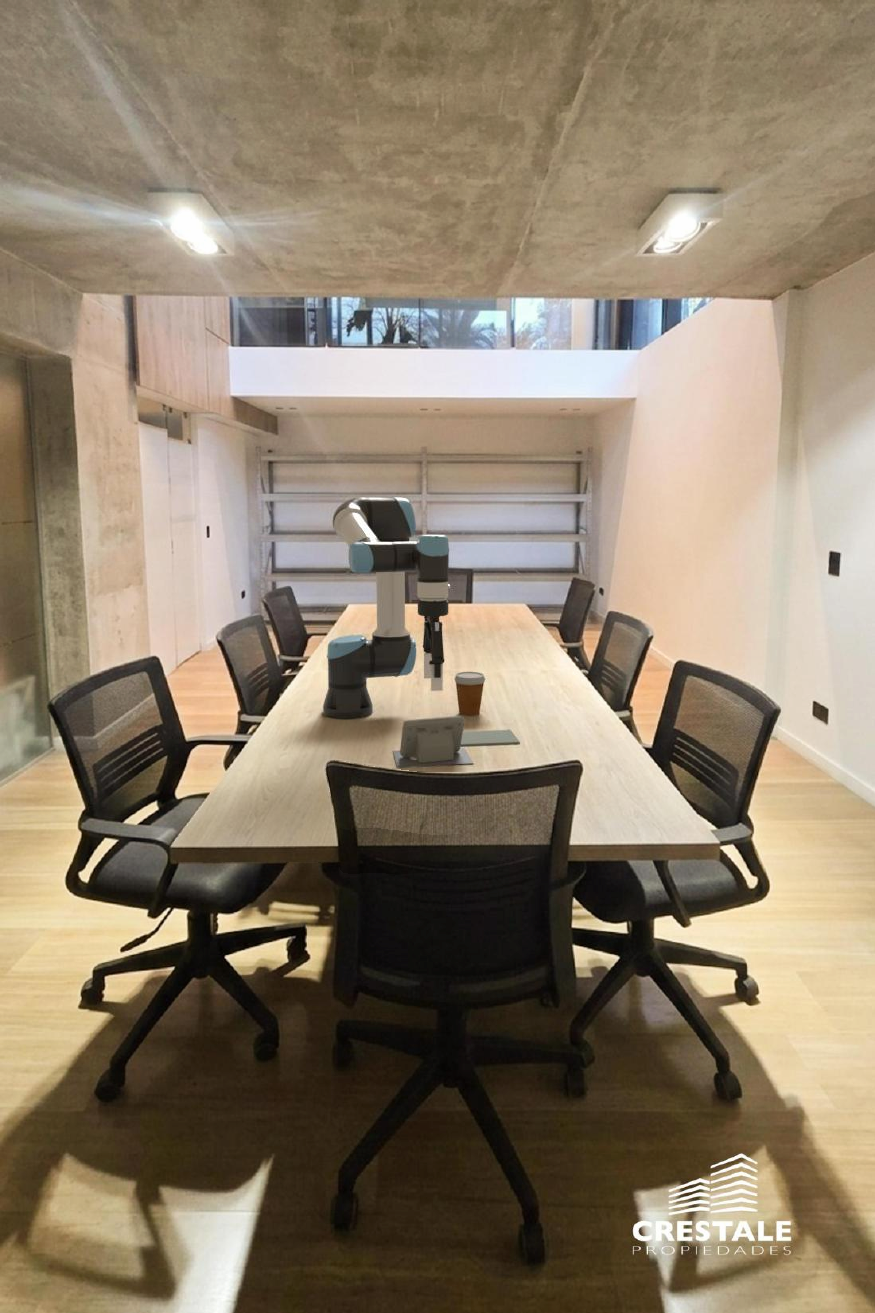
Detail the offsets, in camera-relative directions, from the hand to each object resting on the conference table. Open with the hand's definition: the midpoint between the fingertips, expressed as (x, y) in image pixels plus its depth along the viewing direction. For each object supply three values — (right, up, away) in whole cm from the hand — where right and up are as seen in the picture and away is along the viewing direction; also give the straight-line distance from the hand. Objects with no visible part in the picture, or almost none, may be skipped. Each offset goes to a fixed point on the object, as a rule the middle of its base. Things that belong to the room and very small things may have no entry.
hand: (432, 684), depth 191 cm
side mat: (+14, -16, +20) cm, 29 cm away
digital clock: (0, -19, +4) cm, 19 cm away
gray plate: (0, -19, +4) cm, 19 cm away
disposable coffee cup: (+11, -11, +45) cm, 48 cm away
